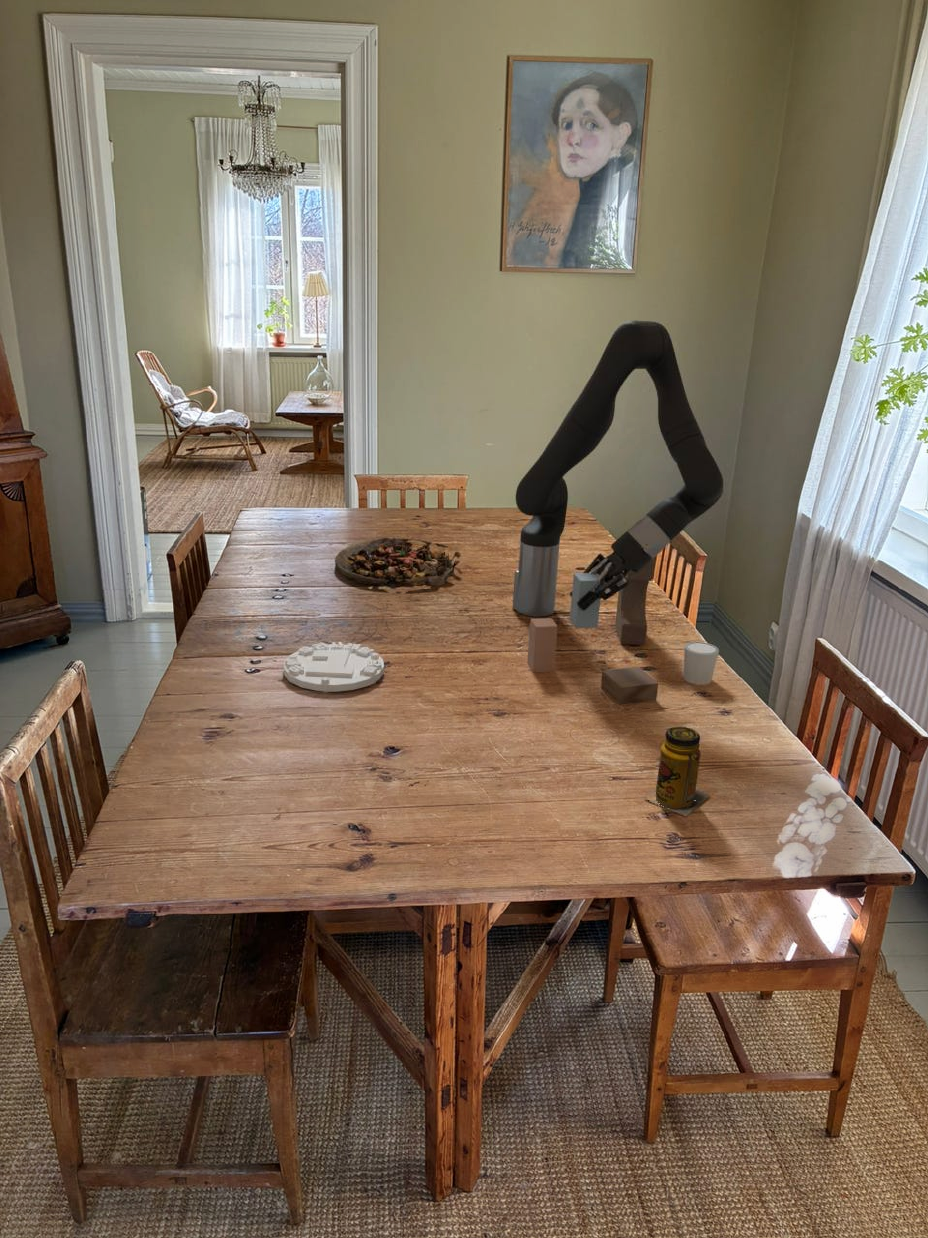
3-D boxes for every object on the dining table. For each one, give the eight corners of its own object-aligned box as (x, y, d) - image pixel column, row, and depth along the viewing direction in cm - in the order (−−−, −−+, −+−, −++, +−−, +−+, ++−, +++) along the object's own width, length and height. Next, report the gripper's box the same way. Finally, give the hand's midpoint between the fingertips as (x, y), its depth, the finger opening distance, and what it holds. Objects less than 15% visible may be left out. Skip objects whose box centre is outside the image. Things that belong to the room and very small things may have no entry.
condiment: (644, 800, 149) (652, 733, 145) (670, 780, 155) (679, 715, 151) (685, 818, 145) (695, 749, 140) (710, 796, 151) (721, 730, 147)
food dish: (484, 582, 248) (485, 554, 245) (374, 605, 231) (374, 575, 228) (414, 543, 275) (415, 517, 272) (311, 561, 257) (310, 534, 254)
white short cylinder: (715, 675, 195) (720, 644, 193) (712, 688, 189) (717, 656, 186) (682, 669, 197) (686, 639, 195) (678, 682, 191) (682, 651, 188)
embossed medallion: (264, 683, 184) (264, 669, 183) (315, 647, 201) (315, 635, 200) (355, 703, 177) (355, 689, 176) (400, 665, 195) (400, 651, 194)
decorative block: (645, 646, 208) (655, 560, 201) (619, 644, 208) (628, 558, 201) (639, 627, 219) (648, 545, 211) (614, 626, 219) (623, 543, 212)
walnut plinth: (619, 706, 180) (621, 687, 179) (600, 689, 188) (602, 670, 186) (656, 701, 183) (658, 683, 182) (636, 684, 190) (638, 666, 189)
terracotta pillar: (532, 672, 193) (535, 626, 189) (527, 663, 197) (530, 618, 194) (553, 671, 194) (557, 626, 190) (548, 662, 198) (551, 618, 194)
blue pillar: (575, 628, 187) (580, 580, 183) (569, 619, 191) (573, 573, 187) (597, 627, 187) (602, 580, 184) (590, 619, 192) (595, 572, 188)
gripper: (617, 520, 190) (554, 578, 192) (642, 542, 177) (574, 603, 179) (639, 545, 193) (577, 601, 195) (665, 568, 180) (598, 628, 182)
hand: (576, 602), depth 187 cm, fingers closed on blue pillar, 4 cm apart
